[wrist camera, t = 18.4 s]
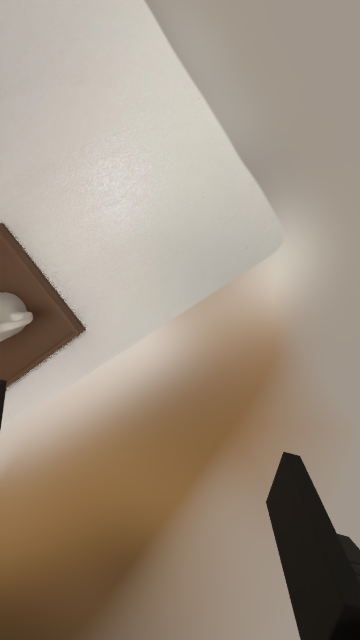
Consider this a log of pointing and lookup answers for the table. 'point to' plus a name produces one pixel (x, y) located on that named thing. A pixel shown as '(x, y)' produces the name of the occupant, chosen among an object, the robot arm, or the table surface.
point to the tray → (42, 301)
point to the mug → (12, 315)
